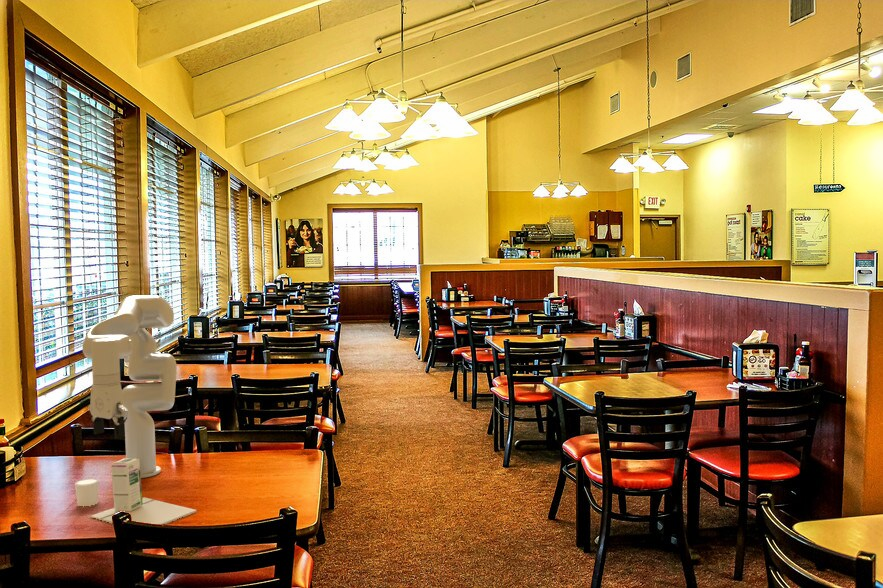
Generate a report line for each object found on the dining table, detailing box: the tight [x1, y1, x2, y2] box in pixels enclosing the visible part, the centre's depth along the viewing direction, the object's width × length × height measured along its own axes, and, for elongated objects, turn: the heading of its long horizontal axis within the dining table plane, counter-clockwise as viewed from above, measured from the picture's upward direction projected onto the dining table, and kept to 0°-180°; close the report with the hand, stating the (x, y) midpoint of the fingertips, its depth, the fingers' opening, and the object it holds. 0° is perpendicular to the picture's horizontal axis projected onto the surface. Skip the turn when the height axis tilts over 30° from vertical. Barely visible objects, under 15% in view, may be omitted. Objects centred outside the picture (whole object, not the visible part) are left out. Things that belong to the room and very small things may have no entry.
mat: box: [90, 496, 197, 525], centre depth 210 cm, size 24×18×1 cm
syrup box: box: [110, 457, 143, 512], centre depth 214 cm, size 6×6×14 cm
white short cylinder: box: [74, 478, 100, 508], centre depth 220 cm, size 7×7×7 cm
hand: (109, 435), depth 217 cm, fingers open, 9 cm apart
